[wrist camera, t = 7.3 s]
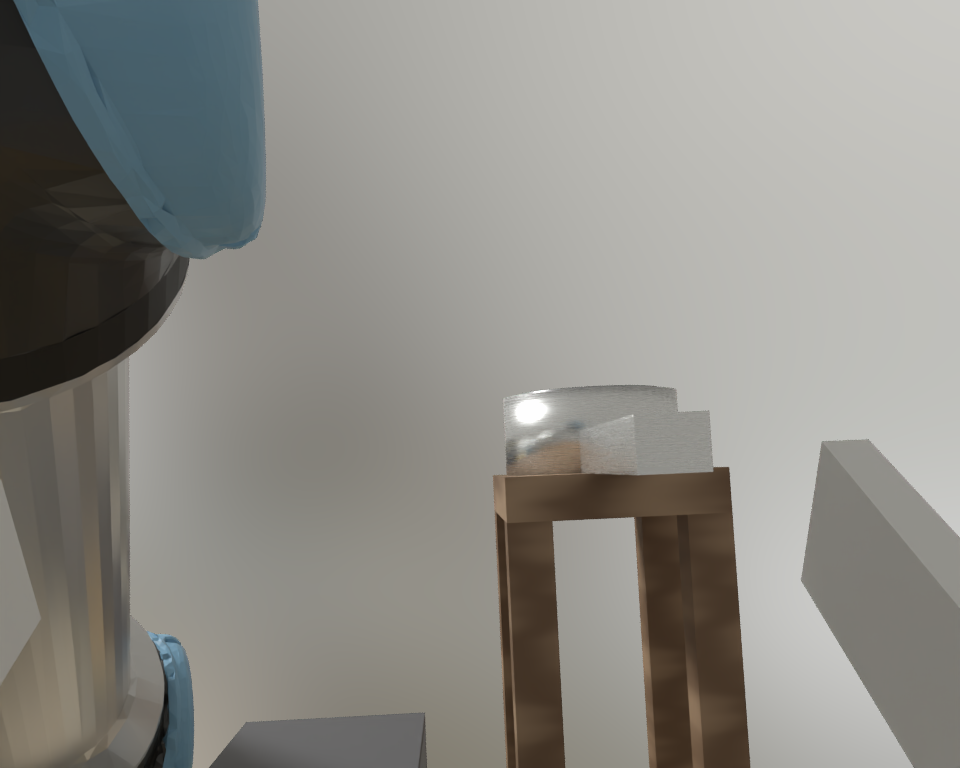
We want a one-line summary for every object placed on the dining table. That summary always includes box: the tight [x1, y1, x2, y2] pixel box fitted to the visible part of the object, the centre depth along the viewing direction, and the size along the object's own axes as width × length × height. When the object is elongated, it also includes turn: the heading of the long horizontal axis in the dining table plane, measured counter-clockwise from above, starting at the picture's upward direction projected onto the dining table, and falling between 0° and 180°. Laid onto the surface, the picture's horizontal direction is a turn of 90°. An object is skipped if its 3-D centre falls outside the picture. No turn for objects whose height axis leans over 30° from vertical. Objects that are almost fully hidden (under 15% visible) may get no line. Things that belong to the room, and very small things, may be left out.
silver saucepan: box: [503, 385, 713, 476], centre depth 40 cm, size 9×22×4 cm, turn 2°
